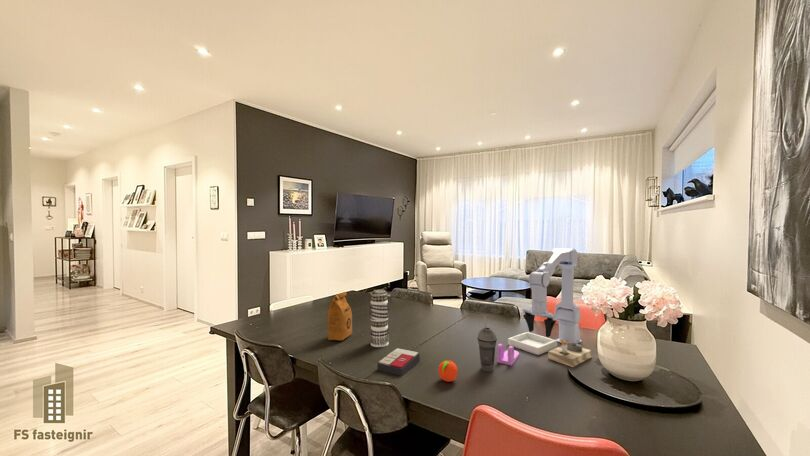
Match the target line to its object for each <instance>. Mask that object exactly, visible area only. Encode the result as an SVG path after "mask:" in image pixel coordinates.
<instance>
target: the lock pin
mask: <svg viewBox="0 0 810 456" xmlns="http://www.w3.org/2000/svg"><path fill="white" fill-rule="evenodd" d="M567 344H568V341H567V340H561V346H562V354H564V355H567Z"/></svg>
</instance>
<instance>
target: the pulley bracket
mask: <svg viewBox="0 0 810 456" xmlns="http://www.w3.org/2000/svg"><path fill="white" fill-rule="evenodd" d="M547 352H548V353H547V355H548V356H547V359H548V360H550V361H554V362H557V363H560V364H563V365H566V366H569V367H571V368H574V367H576V366H578V365H580V364H582V363H583V362H585V361H587V360H589V359H591V358H592V350H591V349H588V348H585V347H583V345H581V344H579V343H575V342H572V343H568V344H567V355H564V354H562V345H560V346H557V347H556V348H554V349H552V350H549V351H547Z"/></svg>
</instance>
